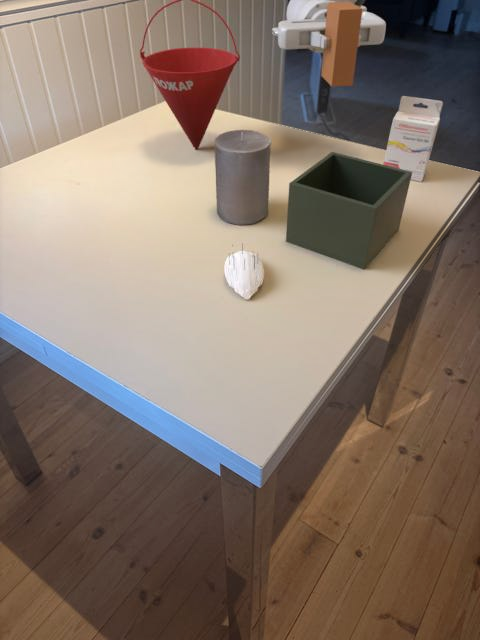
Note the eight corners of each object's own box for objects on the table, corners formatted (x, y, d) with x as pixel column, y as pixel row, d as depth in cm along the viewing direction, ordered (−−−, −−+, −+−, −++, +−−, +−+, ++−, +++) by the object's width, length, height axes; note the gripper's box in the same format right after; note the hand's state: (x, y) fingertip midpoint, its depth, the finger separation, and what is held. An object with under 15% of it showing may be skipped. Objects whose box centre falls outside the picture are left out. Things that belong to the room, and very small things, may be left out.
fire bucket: (137, 162, 109) (112, 4, 89) (167, 130, 123) (151, -13, 103) (231, 171, 105) (227, 7, 85) (250, 136, 119) (251, -11, 99)
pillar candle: (215, 201, 95) (211, 123, 85) (265, 198, 96) (267, 120, 86) (218, 227, 88) (215, 145, 78) (272, 224, 88) (275, 142, 78)
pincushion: (223, 256, 81) (221, 226, 77) (259, 254, 81) (260, 224, 77) (226, 302, 72) (225, 271, 68) (267, 300, 72) (268, 268, 68)
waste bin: (325, 206, 93) (331, 151, 86) (398, 229, 86) (412, 171, 79) (285, 241, 84) (289, 183, 77) (364, 269, 78) (376, 208, 70)
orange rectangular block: (341, 74, 94) (349, 1, 86) (352, 85, 89) (362, 8, 81) (321, 75, 94) (327, 2, 86) (331, 86, 89) (339, 9, 81)
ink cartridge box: (380, 175, 103) (394, 102, 93) (385, 165, 106) (399, 94, 96) (422, 182, 100) (441, 108, 90) (426, 172, 103) (445, 100, 93)
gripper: (270, 10, 94) (286, 25, 83) (372, 5, 96) (400, 19, 86) (269, 46, 98) (284, 65, 88) (367, 41, 100) (393, 59, 90)
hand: (342, 42), depth 87 cm, fingers closed on orange rectangular block, 4 cm apart
